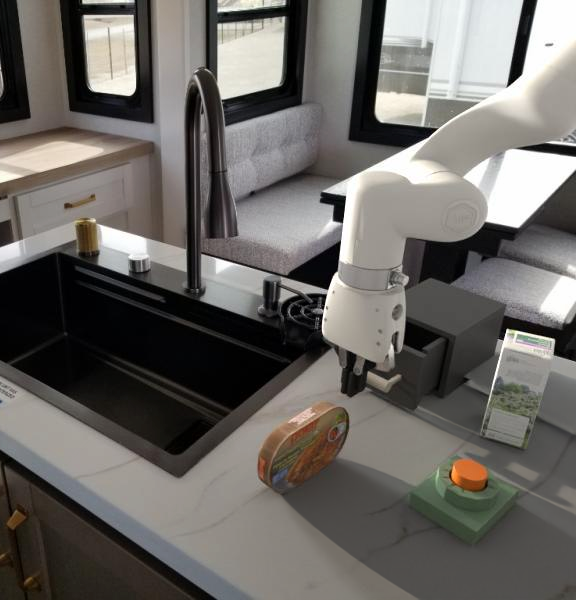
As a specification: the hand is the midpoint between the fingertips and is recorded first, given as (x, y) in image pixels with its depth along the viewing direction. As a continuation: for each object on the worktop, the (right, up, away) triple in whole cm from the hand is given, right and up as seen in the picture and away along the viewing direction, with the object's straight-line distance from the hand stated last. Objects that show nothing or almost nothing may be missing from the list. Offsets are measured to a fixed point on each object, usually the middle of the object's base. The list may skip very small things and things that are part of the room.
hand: (352, 391), depth 89 cm
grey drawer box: (+16, +2, +14) cm, 22 cm away
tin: (-9, -9, -8) cm, 15 cm away
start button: (+9, -8, -15) cm, 19 cm away
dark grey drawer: (+9, 0, +8) cm, 12 cm away
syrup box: (+20, -6, -2) cm, 21 cm away
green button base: (+9, -11, -13) cm, 20 cm away
